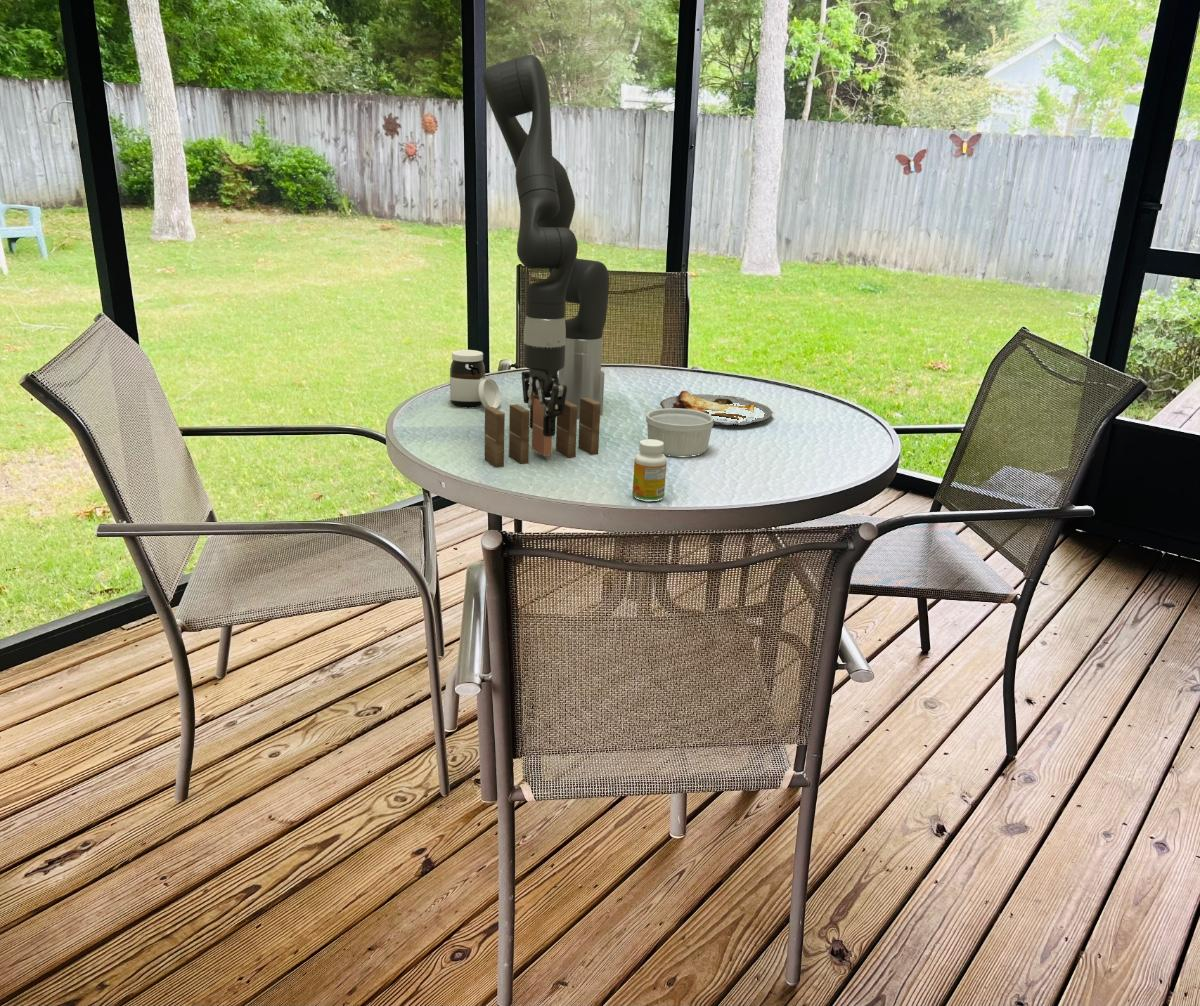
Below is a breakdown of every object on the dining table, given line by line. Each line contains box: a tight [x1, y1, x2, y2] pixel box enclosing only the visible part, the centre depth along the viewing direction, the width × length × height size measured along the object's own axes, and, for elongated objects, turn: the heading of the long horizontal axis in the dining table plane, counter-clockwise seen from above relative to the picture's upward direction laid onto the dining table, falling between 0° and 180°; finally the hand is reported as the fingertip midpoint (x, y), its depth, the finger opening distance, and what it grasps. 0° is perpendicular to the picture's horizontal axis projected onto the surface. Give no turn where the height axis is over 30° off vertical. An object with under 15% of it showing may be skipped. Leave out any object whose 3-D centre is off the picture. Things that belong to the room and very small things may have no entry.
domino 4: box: [555, 400, 578, 459], centre depth 180 cm, size 2×5×10 cm, turn 31°
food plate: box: [659, 390, 774, 426], centre depth 214 cm, size 25×23×4 cm
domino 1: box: [484, 407, 506, 469], centre depth 172 cm, size 2×5×10 cm, turn 31°
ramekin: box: [645, 408, 715, 457], centre depth 187 cm, size 13×13×7 cm
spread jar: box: [449, 349, 502, 409], centre depth 211 cm, size 12×11×12 cm
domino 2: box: [508, 403, 530, 465], centre depth 175 cm, size 2×5×10 cm, turn 31°
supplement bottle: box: [631, 438, 668, 500], centre depth 159 cm, size 5×5×10 cm
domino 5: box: [577, 398, 601, 456], centre depth 182 cm, size 2×5×10 cm, turn 31°
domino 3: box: [531, 397, 553, 457], centre depth 177 cm, size 2×5×10 cm, turn 31°
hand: (542, 431), depth 177 cm, fingers closed on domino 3, 5 cm apart
